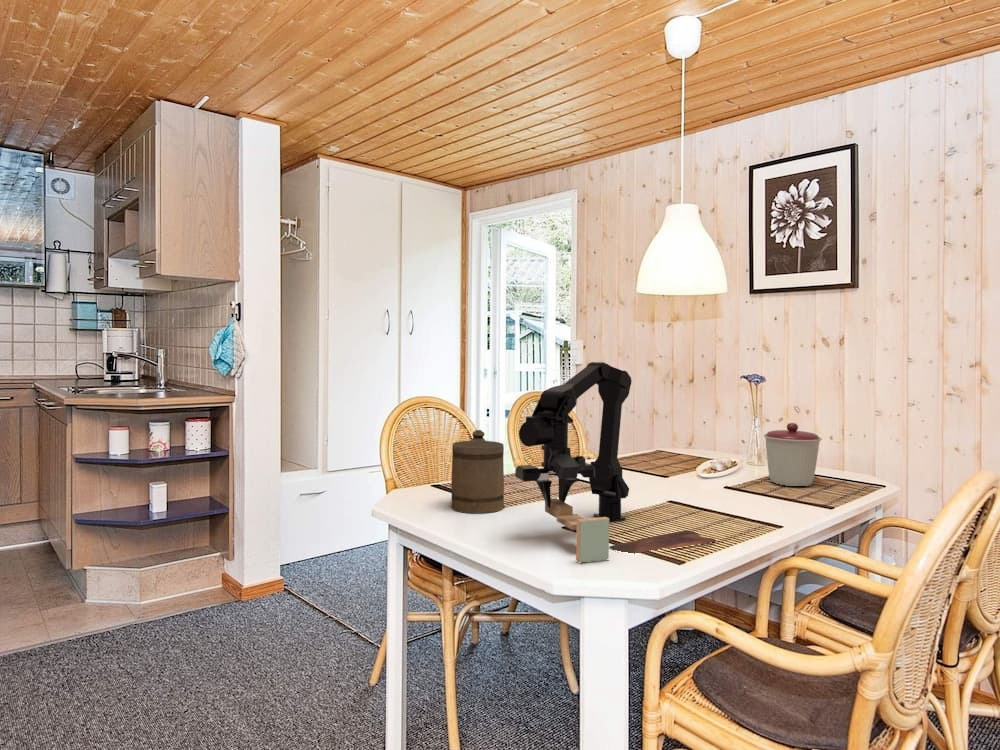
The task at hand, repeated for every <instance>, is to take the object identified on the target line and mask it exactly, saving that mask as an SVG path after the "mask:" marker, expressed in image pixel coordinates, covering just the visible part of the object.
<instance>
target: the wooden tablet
mask: <svg viewBox="0 0 1000 750" xmlns="http://www.w3.org/2000/svg"><path fill="white" fill-rule="evenodd" d="M700 536H701V534H699V533H697V532H695V531H692V530H680V531H675V532H671V533H670V532H669V533H663V534H659V535H654V536H649V537H646V538H645V537H644V538H640V539H635V540H631V541H627V542H622V543H617V544H614V545H611V546H610V545H609V549H611V550H612V549H613V551H614V550H617V551H621V552H628V553H634V554H635V553H641V552H644V551H645V552H646V551H649V550H650V551H651V550H658V549H662V548H665V549H666V548H676V547H684V546H691V545H698V544H705V543H710V542H715V541H716V539H715V538H711V537H706V536H705V537H704V536H703V537H702V536H701V537H700ZM716 542H717V541H716ZM716 542H715V543H716Z"/></svg>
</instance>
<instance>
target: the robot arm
mask: <svg viewBox="0 0 1000 750" xmlns="http://www.w3.org/2000/svg"><path fill="white" fill-rule="evenodd" d="M595 385H597V390H598V394H599V396H600V399H601V401H602V411H601V413H602V414H601V421H600V422H601V424H600V436H599V449H598V456H597V458H596V459H595V460H594V462H590V463H588V462H586V457H585V456H583V455H576V456H572V455H571V447H568V446H569V443H568V442H569V439H568V437H569V435H568V434H569V424H572V423H574V419H573V418H572V417H571V416H570V415H569V414H570V413H571V412H572V411H573V409H574V408H575V407H576V406H577V404H578V399H579V398H580V397H581V396H582V395H583V394H585V393H586V392H588V390H590V389H591V388H592V387H593V386H595ZM631 386H632V377H631V376H630V375H629V373H628V371H626V370H622V369H619V368H617V367H614V366H612V365H609V364H608V363H606V362H602V361H601V362H599V361H597V362H596V361H592V362H589V363H588V364H587V365H586V366H585V367H584V368H583V369H582V370H580V371H579V372H578V373H577V374H575V375H574V376H572V377H571V378H569V379H568V380H567V381H566V382H565V383H563V384H560V385H555V386H551V387H550V388H548V389H545V390H543V392H542V393H541V394H540V398H539V400H538V401H537V404H536V405H535V407H534V410H533V412H532V414H531V416H526V417H525V422H523V423H522V424H521V425H520V429H519V431H518V437H519V440H520V442H521V443H522V444H523V446H526V447H528V448H530V447H536V446H541V450H542V451H543V461H541V467H536V466H534V465H532V464H525V465H524V464H523V465H517V467H516V468H515V473H514V476H515V478H516V479H518V480H521V481H522V482H536V484H537V487H539V490H540V492H541V494H542V497H543V500H544V504H545V503H546V505H547V507H548V508H550V504H551V499H552V498H551V486H552V483H553V481H552V480H550V476H556V477H557V478H558V499H559V500H561V501H563V502H565V501H566V499H567V496H568V494H569V492H570V490H571V487H572V485H574V484H575V483H576V482H579V481H580V479H579V477H578V476H579V475H581V476H582V478H584V479H585V478H588V479H589V480H588V481H589V482H588V483H589V485H590V490H591V494H592V495H598V513H594V514H593V516H594V518H598V517H607V518H609V522H614V521H615V522H616V521H624V520H625V521H626V519H627V518H626V517H625V516H623V515H622V499H627V497H628V496H629V492H630V488H629V486H628V484H627V483H626V482H625V480H624V478H623V468H622V466H621V465H622V464H621V463H620V461H619V460H618V454H619V442H620V432H621V420H622V408H623V404H624V402H625V401H626V399H627V398H628V396H629V395H630V390H631ZM565 503H566V502H565Z"/></svg>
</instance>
